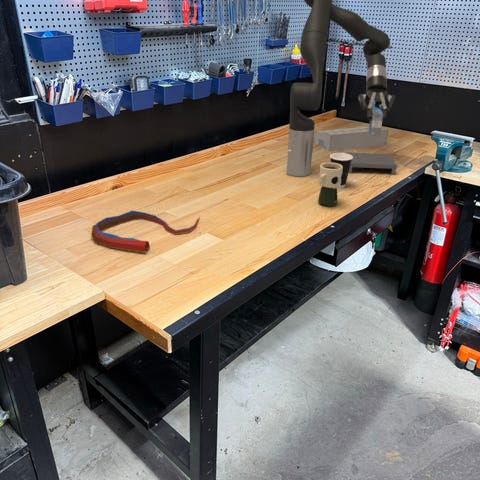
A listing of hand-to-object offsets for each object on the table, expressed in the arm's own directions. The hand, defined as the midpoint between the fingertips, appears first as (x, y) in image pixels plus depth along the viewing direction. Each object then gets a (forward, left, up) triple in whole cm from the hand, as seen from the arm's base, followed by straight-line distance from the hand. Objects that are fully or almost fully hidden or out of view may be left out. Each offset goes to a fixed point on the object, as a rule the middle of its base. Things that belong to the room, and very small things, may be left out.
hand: (376, 119), depth 171 cm
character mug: (-19, -36, -20) cm, 45 cm away
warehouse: (-3, +36, -20) cm, 42 cm away
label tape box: (0, +2, -6) cm, 6 cm away
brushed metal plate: (0, +2, -20) cm, 20 cm away
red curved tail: (-72, -61, -21) cm, 96 cm away
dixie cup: (-14, -19, -20) cm, 31 cm away
